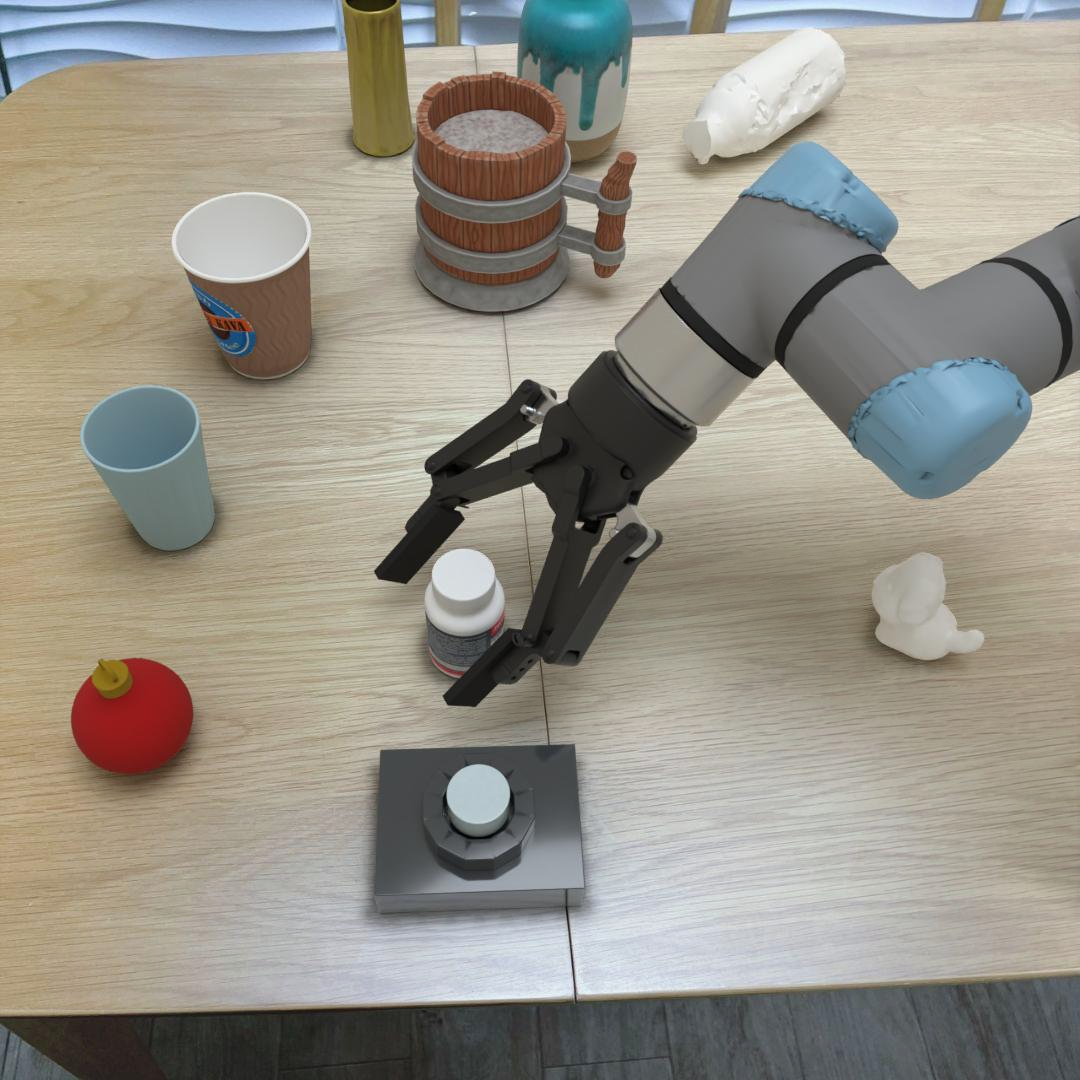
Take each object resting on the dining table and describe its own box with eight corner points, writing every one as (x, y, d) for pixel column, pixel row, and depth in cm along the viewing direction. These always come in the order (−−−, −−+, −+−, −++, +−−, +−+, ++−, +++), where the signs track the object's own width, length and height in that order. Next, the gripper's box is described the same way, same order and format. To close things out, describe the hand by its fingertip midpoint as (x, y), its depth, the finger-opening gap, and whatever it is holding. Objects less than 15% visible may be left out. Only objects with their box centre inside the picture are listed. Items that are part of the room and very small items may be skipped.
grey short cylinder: (508, 777, 65) (509, 762, 63) (510, 836, 63) (510, 822, 61) (447, 779, 65) (446, 764, 63) (447, 838, 62) (446, 824, 61)
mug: (452, 198, 104) (446, 48, 92) (644, 251, 100) (665, 102, 88) (387, 289, 96) (371, 139, 84) (592, 351, 92) (607, 203, 80)
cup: (251, 502, 82) (222, 407, 73) (190, 578, 78) (152, 487, 69) (167, 467, 84) (129, 370, 75) (103, 540, 79) (55, 447, 71)
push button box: (572, 765, 70) (576, 730, 66) (581, 905, 65) (587, 877, 61) (384, 770, 70) (377, 736, 66) (378, 913, 64) (370, 885, 60)
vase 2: (518, 114, 112) (522, -81, 97) (621, 119, 112) (641, -75, 97) (512, 177, 106) (515, -21, 91) (621, 183, 106) (643, -14, 91)
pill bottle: (504, 681, 74) (504, 611, 66) (426, 680, 74) (418, 610, 66) (505, 614, 77) (505, 540, 70) (430, 613, 77) (423, 539, 69)
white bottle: (659, 159, 109) (668, 85, 102) (775, 86, 117) (791, 13, 110) (721, 196, 105) (735, 122, 99) (836, 118, 114) (856, 45, 107)
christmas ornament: (226, 739, 71) (191, 662, 62) (133, 815, 67) (84, 744, 59) (161, 672, 73) (119, 590, 65) (68, 741, 70) (12, 664, 62)
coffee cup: (180, 348, 91) (143, 231, 81) (280, 291, 95) (256, 174, 86) (255, 415, 87) (225, 300, 77) (356, 352, 91) (339, 236, 82)
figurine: (861, 589, 79) (894, 522, 73) (971, 624, 78) (1015, 559, 71) (847, 649, 76) (879, 585, 70) (961, 686, 75) (1005, 625, 68)
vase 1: (373, 115, 111) (359, -26, 100) (426, 132, 110) (417, -9, 98) (341, 146, 108) (323, 4, 97) (395, 164, 107) (382, 22, 95)
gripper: (799, 537, 61) (540, 779, 69) (594, 292, 72) (392, 524, 80) (737, 514, 55) (462, 781, 63) (525, 251, 66) (314, 505, 74)
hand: (423, 637), depth 71 cm, fingers open, 10 cm apart
